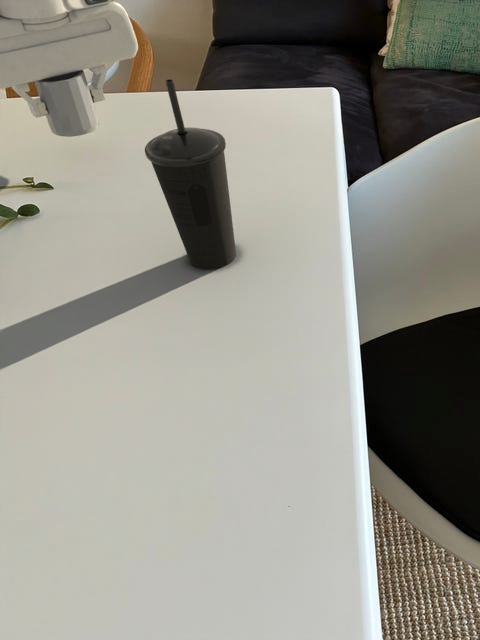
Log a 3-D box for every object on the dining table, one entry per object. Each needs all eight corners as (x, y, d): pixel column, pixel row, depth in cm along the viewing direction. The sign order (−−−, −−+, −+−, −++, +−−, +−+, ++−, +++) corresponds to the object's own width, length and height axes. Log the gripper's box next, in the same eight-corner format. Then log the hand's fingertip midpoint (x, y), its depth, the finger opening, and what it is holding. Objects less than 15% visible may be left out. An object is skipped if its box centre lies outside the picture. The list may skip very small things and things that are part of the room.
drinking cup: (264, 252, 87) (228, 73, 74) (219, 287, 82) (172, 102, 69) (209, 236, 89) (165, 60, 76) (162, 269, 84) (107, 87, 71)
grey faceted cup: (46, 137, 99) (26, 83, 94) (57, 118, 103) (39, 65, 99) (94, 135, 100) (77, 81, 95) (103, 117, 104) (87, 64, 99)
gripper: (-56, 16, 83) (-7, 138, 92) (127, -17, 94) (155, 95, 103) (-75, 2, 87) (-26, 121, 96) (104, -28, 98) (133, 81, 107)
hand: (69, 107), depth 100 cm, fingers closed on grey faceted cup, 6 cm apart
